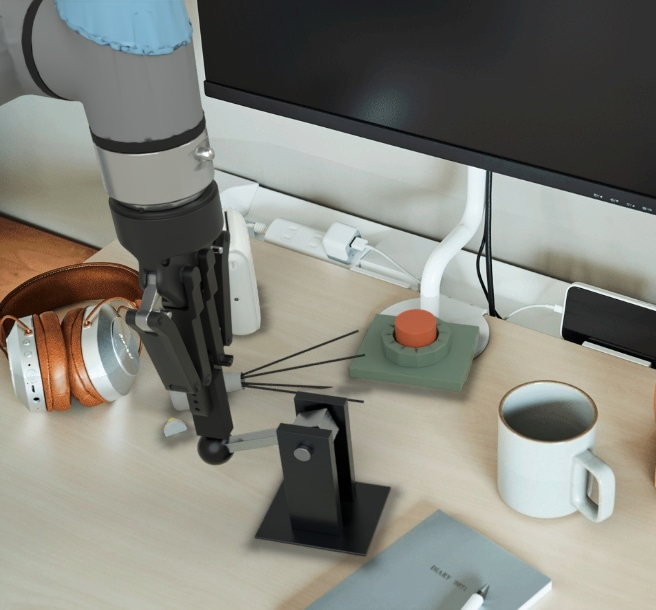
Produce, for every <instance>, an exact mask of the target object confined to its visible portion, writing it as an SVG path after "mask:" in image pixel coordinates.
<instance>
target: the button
mask: <svg viewBox="0 0 656 610" xmlns="http://www.w3.org/2000/svg"><path fill="white" fill-rule="evenodd" d="M396 316H397V317H396V319H395V336H396V340H397V342H398V343H399V344H401V345H402V346H404V347H411V348H419V347H424V346H429V345H430V344H432V343H433V342H434V341H435V339H436V318H435V317H436V315H434V314H433V313H432V312H430V311H429V310H425V309H419V308H412V309H407V310H404V311H402V312H400V313H399V314H398V315H396Z"/></svg>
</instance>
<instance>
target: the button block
mask: <svg viewBox="0 0 656 610" xmlns="http://www.w3.org/2000/svg"><path fill="white" fill-rule="evenodd" d="M397 316H398V315H390V314H383V313H375V315H374V316H373V319H372V321H371V322H370V325H369V327H368V329H367V331H366V334H365V336H364V338H363V340H362V342H361V344H360V345H359V348H358V350H357V351H356V354H355V355H360V354H365V356H363V357H358V358H353V360H352V362H351V364H350V366H349V376H350V378H356V379H362V380H369V381H370V380H371V381H378V382H384V383H386V382H387V383H393V384H400V385H407V386H415V387H421V388H427V389H428V388H430V389H437V390H444V391H449V392H458V393H461V392H462V389H463V387H464V384H466V383H467V380H468V377H469V373H470V370H471V368H472V365H473V361H474V359H475V355H476V352H477V349H478V345H479V342H480V326H478V325H471V324H465V323H464V324H462V323H455V322H447V321H445V320H443V319H440V318H439V317H437V316H435V318H436V339H435V341H434V342H433V343H432V344H430V345H429V346H424V347H419V348H411V347H404V346H402V345H401V344H399V343H398V342H397V340H396V336H395V319H396V317H397Z"/></svg>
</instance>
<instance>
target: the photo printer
mask: <svg viewBox="0 0 656 610" xmlns="http://www.w3.org/2000/svg"><path fill="white" fill-rule="evenodd" d="M222 212H223V217H224V226H223V229H222V230H225V231H229V232H230V248H229V258H228V262H229V280H230V299H231V318H232V335H235V336H247V335H251V334H253V333H255V332H257V330H260V328H261V320H262V319H261V307H260V300H259V291H258V285H257V284H258V283H257V276H256V271H255V266H254V259H253V253H252V248H251V242H250V235H249V230H248V226H247V222H246V219H245V218H244V216H243V215H242V213H240V212H239V211H238V210H237V209H236V208H233V207H228V208H222Z"/></svg>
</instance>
